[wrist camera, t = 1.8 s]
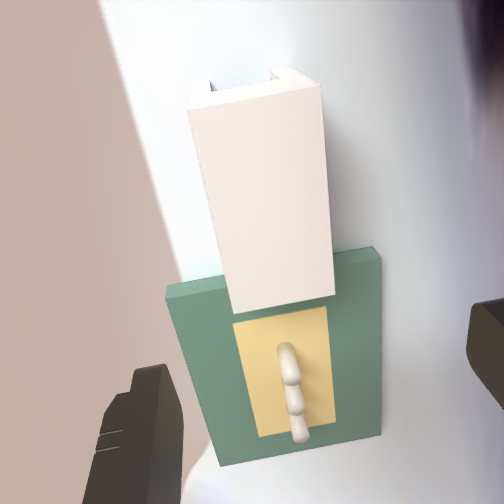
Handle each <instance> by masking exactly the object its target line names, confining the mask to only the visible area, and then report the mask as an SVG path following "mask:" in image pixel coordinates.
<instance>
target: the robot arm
mask: <svg viewBox="0 0 504 504" xmlns="http://www.w3.org/2000/svg"><path fill="white" fill-rule="evenodd" d="M466 352H467V357H468V360H469V363H470V365H471V367H472V369H473V371H474V372H475V373H476V375H477V376H478V377H479V379H480V380H481V381H482V383H483V384H484V385H485V386H486V388H487V389H488V390H489V392H490V393H491V394H492V395H493V397H494V398H495V399H496V401H497V402H498V403H499V404H500V406H501V407H502V408H503V410H504V298H501V299H496V300H490V301H485V302H480V303H476V304H474V305H473V306H472V308H471V314H470V322H469V330H468V338H467V346H466ZM183 428H184V425H183V414H182V408H181V404H180V401H179V398H178V395H177V393H176V390H175V387H174V384H173V381H172V379H171V376H170V373H169V370H168V368H167V366H166V364H159V365H154V366H149V367H144V368H139V369H136V370H135V371H134V374H133V379H132V384H131V389H130V392H126V393H121V394H117V395H116V396H115V398H114V399H113V401H112V402H111V404H110V406H109V407H108V408H107V410H106V412H105V413H104V417H103V421H102V425H101V429H100V437H98V441H97V445H96V454H94V458H93V462H92V466H91V470H90V475H89V478H88V482H87V486H86V490H85V494H84V499H83V502H82V504H180V501H181V477H182V454H183V430H184V429H183Z"/></svg>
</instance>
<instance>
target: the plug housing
mask: <svg viewBox="0 0 504 504" xmlns="http://www.w3.org/2000/svg"><path fill="white" fill-rule="evenodd" d="M269 71H270V79H271V81H267V82H262V83H256V84H251V85H246V86H240V87H235V88H229V89H224V90H219V91H213V92H212V91H211V86H210V81H204V82H198V83H193V84H191V85H190V92H189V99H188V106H187V113H188V118H189V122H190V126H191V131H192V135H193V139H194V144H195V148H196V152H197V157H198V161H199V166H200V170H201V174H202V179H203V183H204V187H205V192H206V196H207V200H208V205H209V209H210V213H211V218H212V222H213V227H214V231H215V235H216V240H217V244H218V248H219V253H220V257H221V261H222V266H223V270H224V275H225V279H226V283H227V288H228V292H229V296H230V301H231V305H232V309H233V314H237V313H242V312H248V311H253V310H258V309H263V308H268V307H273V306H279V305H284V304H289V303H294V302H299V301H305V300H310V299H315V298H320V297H325V296H330V295H335V282H334V268H333V254H332V239H331V225H330V211H329V196H328V182H327V168H326V153H325V139H324V125H323V110H322V96H321V85H319V84H318V83H316V82H314V81H313V80H311V79H309V78H308V77H306V76H304V75H302V74H301V73H299V72H297V71H296V70H294V69H292V68H291V67H289V66H285V67H279V68H274V69H269Z"/></svg>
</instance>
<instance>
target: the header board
mask: <svg viewBox="0 0 504 504" xmlns="http://www.w3.org/2000/svg"><path fill="white" fill-rule="evenodd" d="M333 268H334V282H335V295H330V296H325V297H320V298H315V299H310V300H305V301H299V302H294V303H289V304H284V305H279V306H273V307H268V308H263V309H258V310H253V311H248V312H242V313H237V314H233V309H232V305H231V301H230V296H229V292H228V288H227V283H226V279H225V275H220V276H215V277H210V278H205V279H199V280H194V281H189V282H184V283H179V284H174V285H168V286H167V289H166V298H165V299H166V303H167V306H168V309H169V312H170V315H171V318H172V321H173V324H174V327H175V330H176V333H177V336H178V339H179V342H180V345H181V349H182V351H183V355H184V358H185V361H186V364H187V366H188V370H189V373H190V376H191V379H192V382H193V385H194V388H195V391H196V394H197V397H198V400H199V404H200V407H201V409H202V413H203V416H204V419H205V422H206V424H207V428H208V431H209V434H210V437H211V440H212V443H213V446H214V449H215V452H216V455H217V459H218V462H219V465H220V467H222V466H227V465H232V464H238V463H243V462H248V461H253V460H258V459H263V458H268V457H273V456H278V455H283V454H288V453H293V452H298V451H303V450H308V449H313V448H318V447H323V446H328V445H333V444H338V443H343V442H348V441H353V440H358V439H364V438H369V437H374V436H379V435H381V257H380V256H379V254H378V253H377V252H376V250H375V249H374V247H373V246H371V247H366V248H361V249H356V250H350V251H345V252H340V253H335V254H333Z"/></svg>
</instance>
